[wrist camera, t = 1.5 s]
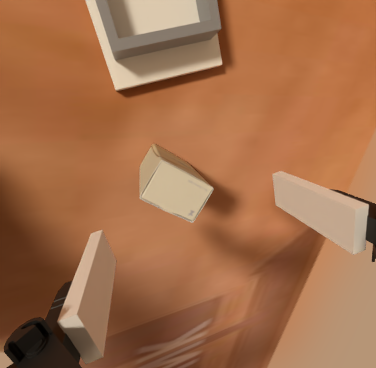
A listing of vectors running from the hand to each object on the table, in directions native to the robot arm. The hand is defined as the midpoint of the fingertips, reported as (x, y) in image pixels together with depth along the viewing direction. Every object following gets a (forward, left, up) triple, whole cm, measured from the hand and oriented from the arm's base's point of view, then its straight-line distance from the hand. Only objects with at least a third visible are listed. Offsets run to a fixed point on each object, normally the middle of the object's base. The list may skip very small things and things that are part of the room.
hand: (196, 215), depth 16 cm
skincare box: (0, 0, -17) cm, 17 cm away
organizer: (+4, +19, -17) cm, 26 cm away
